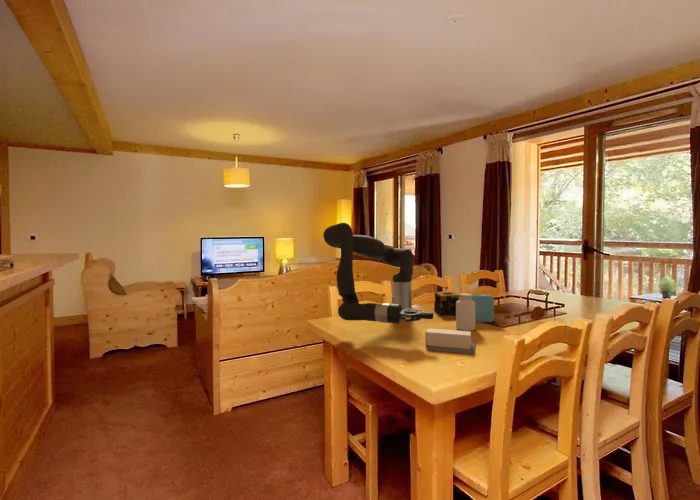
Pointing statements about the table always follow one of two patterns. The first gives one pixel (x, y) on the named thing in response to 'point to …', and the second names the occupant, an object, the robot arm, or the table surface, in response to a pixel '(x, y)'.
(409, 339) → the table surface
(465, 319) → the pill bottle
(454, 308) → the black and yellow cube
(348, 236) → the robot arm
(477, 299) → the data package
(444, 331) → the cream pillar
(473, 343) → the mat
